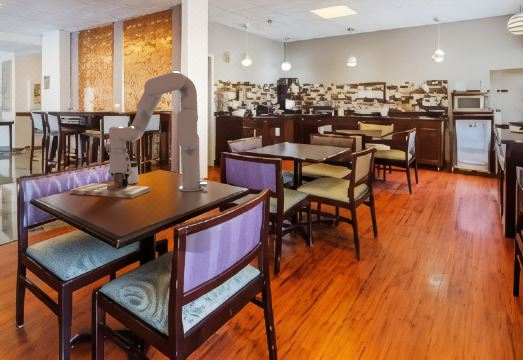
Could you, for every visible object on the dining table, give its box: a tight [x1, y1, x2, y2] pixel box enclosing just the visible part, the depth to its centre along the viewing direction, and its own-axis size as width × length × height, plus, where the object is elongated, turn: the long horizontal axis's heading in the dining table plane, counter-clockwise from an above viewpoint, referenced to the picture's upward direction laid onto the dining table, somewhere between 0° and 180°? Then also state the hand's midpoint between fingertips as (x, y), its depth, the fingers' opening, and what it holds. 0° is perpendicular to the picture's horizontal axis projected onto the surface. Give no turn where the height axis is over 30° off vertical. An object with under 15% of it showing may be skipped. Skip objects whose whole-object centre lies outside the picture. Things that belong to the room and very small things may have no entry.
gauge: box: [107, 173, 129, 190], centre depth 194 cm, size 4×13×7 cm, turn 164°
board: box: [70, 182, 152, 199], centre depth 196 cm, size 36×16×2 cm, turn 74°
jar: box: [127, 160, 139, 185], centre depth 217 cm, size 9×8×12 cm
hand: (121, 185), depth 198 cm, fingers closed on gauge, 4 cm apart
